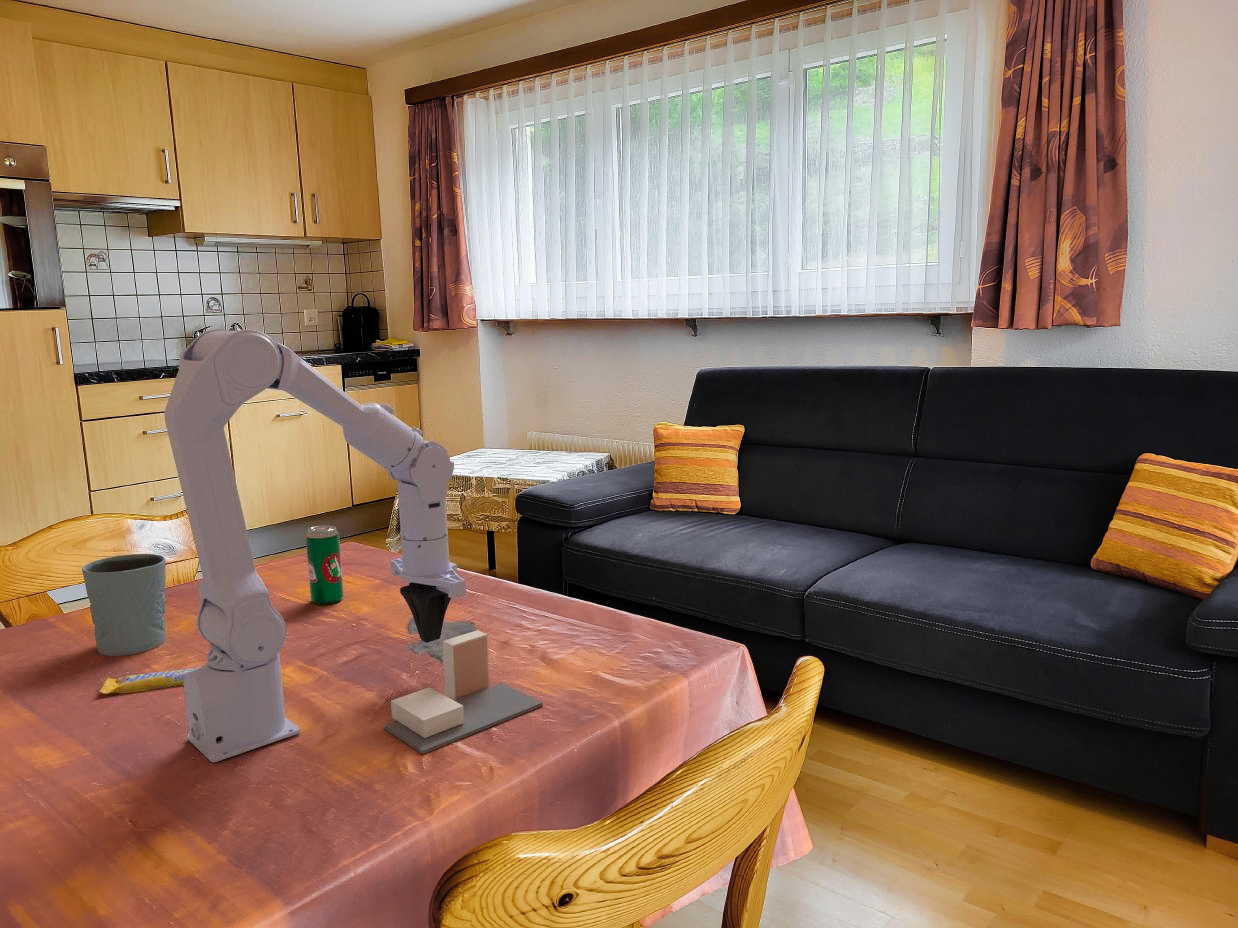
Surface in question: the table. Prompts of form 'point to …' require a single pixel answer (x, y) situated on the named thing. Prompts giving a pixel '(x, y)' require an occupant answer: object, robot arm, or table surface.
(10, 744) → the table surface
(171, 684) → the candy bar
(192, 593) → the table surface
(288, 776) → the table surface
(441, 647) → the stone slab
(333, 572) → the soda can
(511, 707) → the mat
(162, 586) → the grey green cup
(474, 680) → the tan upright block
